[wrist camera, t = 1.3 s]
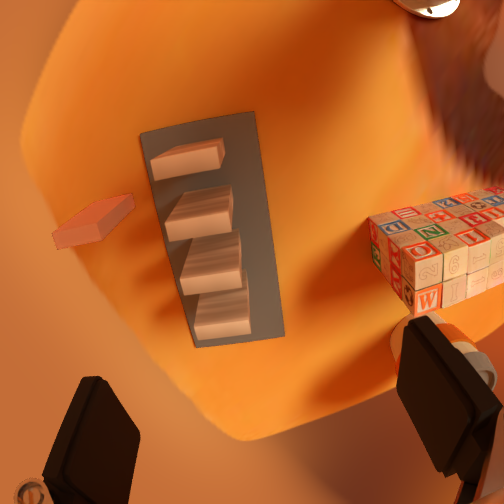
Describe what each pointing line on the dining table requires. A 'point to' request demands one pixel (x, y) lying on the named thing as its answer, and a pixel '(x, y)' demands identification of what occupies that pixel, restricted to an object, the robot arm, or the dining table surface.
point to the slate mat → (244, 215)
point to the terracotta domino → (93, 222)
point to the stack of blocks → (441, 249)
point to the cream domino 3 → (213, 264)
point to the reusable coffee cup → (456, 339)
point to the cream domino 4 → (223, 312)
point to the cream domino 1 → (189, 159)
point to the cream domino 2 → (201, 213)
